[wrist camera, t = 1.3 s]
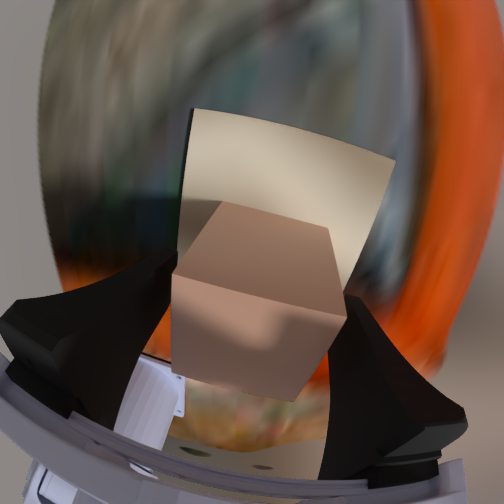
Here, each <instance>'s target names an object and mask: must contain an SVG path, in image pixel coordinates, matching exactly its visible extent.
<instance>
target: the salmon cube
mask: <svg viewBox="0 0 504 504" xmlns="http://www.w3.org/2000/svg"><path fill="white" fill-rule="evenodd" d="M346 319H347V313H346V307H345V302H344V297H343V292H342V287H341V282H340V277H339V272H338V268H337V263H336V259H335V254H334V250H333V246H332V242H331V238H330V234H329V230H328V228H326V227H322V226H319V225H315V224H312V223H308V222H304V221H301V220H297V219H293V218H289V217H285V216H282V215H278V214H274V213H270V212H266V211H262V210H258V209H254V208H250V207H246V206H242V205H238V204H233V203H229V202H225V201H222V203H221V204H220V205H219V207H218V208H217V210H216V211H215V212H214V214H213V215H212V217H211V218H210V219H209V221H208V222H207V224H206V225H205V226H204V228H203V229H202V231H201V232H200V233H199V235H198V236H197V238H196V239H195V241H194V242H193V244H192V245H191V246H190V248H189V249H188V251H187V252H186V254H185V255H184V257H183V258H182V260H181V261H180V263H179V264H178V266H177V267H176V269H175V270H174V272H173V273H172V288H171V373H174V374H178V375H181V376H184V377H187V378H190V379H194V380H197V381H200V382H204V383H208V384H211V385H215V386H219V387H222V388H226V389H230V390H235V391H239V392H243V393H248V394H252V395H257V396H262V397H267V398H272V399H277V400H283V401H289V402H294V400H295V399H296V398H297V396H298V395H299V393H300V392H301V390H302V389H303V388H304V386H305V385H306V383H307V382H308V380H309V379H310V377H311V376H312V374H313V373H314V371H315V370H316V368H317V367H318V365H319V364H320V362H321V360H322V359H323V357H324V356H325V354H326V352H327V351H328V349H329V348H330V346H331V344H332V343H333V341H334V339H335V338H336V336H337V334H338V333H339V331H340V329H341V328H342V326H343V324H344V322H345V321H346Z"/></svg>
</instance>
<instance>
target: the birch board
mask: <svg viewBox="0 0 504 504" xmlns="http://www.w3.org/2000/svg"><path fill="white" fill-rule="evenodd" d="M395 162H396V161H395V160H393V159H390V158H388V157H385V156H383V155H380V154H377V153H375V152H372V151H369V150H367V149H364V148H361V147H358V146H355V145H352V144H349V143H346V142H343V141H340V140H337V139H334V138H331V137H328V136H324V135H321V134H317V133H314V132H310V131H307V130H303V129H299V128H296V127H292V126H288V125H284V124H280V123H275V122H271V121H267V120H262V119H257V118H252V117H247V116H242V115H237V114H231V113H225V112H219V111H213V110H206V109H199V108H195V109H194V115H193V121H192V127H191V133H190V139H189V146H188V152H187V159H186V167H185V175H184V183H183V191H182V200H181V210H180V220H179V231H178V244H177V251H178V263H177V266H178V264H179V263H180V261H181V260H182V258H183V257H184V255H185V254H186V252H187V251H188V249H189V248H190V246H191V245H192V244H193V242H194V241H195V239H196V238H197V236H198V235H199V233H200V232H201V231H202V229H203V228H204V226H205V225H206V224H207V222H208V221H209V219H210V218H211V217H212V215H213V214H214V212H215V211H216V210H217V208H218V207H219V205H220V204H221V203H222V201H225V202H229V203H233V204H238V205H242V206H246V207H250V208H254V209H258V210H262V211H266V212H270V213H274V214H278V215H282V216H285V217H289V218H293V219H297V220H301V221H304V222H308V223H312V224H315V225H319V226H322V227H326V228H328V230H329V234H330V238H331V242H332V246H333V250H334V254H335V259H336V263H337V268H338V272H339V277H340V282H341V287H342V292H343V290H344V288H345V286H346V283H347V281H348V279H349V277H350V275H351V273H352V271H353V268H354V266H355V264H356V262H357V260H358V257H359V255H360V253H361V251H362V248H363V246H364V244H365V241H366V239H367V237H368V234H369V232H370V229H371V227H372V224H373V222H374V219H375V217H376V214H377V212H378V209H379V207H380V204H381V201H382V199H383V196H384V193H385V191H386V188H387V185H388V182H389V179H390V176H391V173H392V171H393V168H394V165H395Z"/></svg>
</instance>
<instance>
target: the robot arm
mask: <svg viewBox="0 0 504 504" xmlns="http://www.w3.org/2000/svg"><path fill="white" fill-rule="evenodd" d="M177 263H178V251H174V250H171V249H167V248H164V249H162V250H160V251H158V252H156V253H154V254H153V255H151V256H149V257H147V258H145V259H144V260H142V261H140V262H138V263H136V264H134V265H133V266H131V267H129V268H127V269H125V270H123V271H120V272H118V273H116V274H114V275H112V276H110V277H108V278H106V279H103V280H101V281H98V282H96V283H93V284H90V285H88V286H85V287H81V288H78V289H74V290H71V291H68V292H64V293H60V294H56V295H50V296H45V297H38V298H29V299H20V300H16V301H15V302H14V303H13V305H12V306H11V307H10V308H9V309H8V310H7V311H6V312H5V313H4V314H3V315H2V316H1V317H0V334H1V336H2V338H3V340H4V341H5V343H6V345H7V347H8V348H9V350H10V352H11V353H12V355H13V356H14V359H13V361H12V362H11V363H10V361H8V359H7V358H6V357H5V356H4V355H3V354H1V353H0V430H1V431H2V432H3V433H4V434H5V435H6V436H7V437H9V438H10V439H11V440H12V441H13V442H14V443H15V444H16V445H17V446H19V447H20V448H21V449H22V450H23V451H25V452H26V453H27V454H28V455H30V456H31V457H32V458H33V459H34V460H33V462H32V464H31V467H30V469H29V471H28V474H27V478H26V480H27V482H26V485H25V487H24V490H23V493H22V495H23V497H24V500H23V503H24V504H270V503H262V502H254V501H249V500H243V499H237V498H230V497H226V496H221V495H216V494H211V493H207V492H203V491H198V490H194V489H190V488H186V487H183V486H179V485H175V484H172V483H168V482H165V481H162V480H158V477H156V476H154V475H152V471H153V470H155V471H158V472H161V473H164V474H167V475H170V476H173V477H176V478H179V479H183V480H186V481H189V482H193V483H197V484H201V485H205V486H209V487H213V488H218V489H223V490H228V491H233V492H239V493H245V494H251V495H259V496H267V497H277V498H290V499H312V500H301V501H300V502H299V503H296V504H468V496H467V487H466V479H465V472H464V465H463V459H462V458H460V459H456V460H452V461H448V462H445V463H442V464H439V465H438V461H437V459H439V458H441V456H442V454H441V449H443V448H444V447H446V446H447V445H449V444H450V443H452V442H453V441H454V440H456V439H458V438H459V437H460V436H461V435H462V434H463V433H464V432H465V431H466V430H467V428H468V423H467V419H466V415H465V411H464V408H463V407H461V406H460V405H458V404H456V403H455V402H453V401H452V400H450V399H449V398H447V397H446V396H445V395H443V394H442V393H441V392H439V391H438V390H437V389H436V388H435V387H433V386H432V385H431V384H430V383H429V382H428V381H426V380H425V379H424V378H423V377H422V376H421V375H420V374H419V373H418V372H417V371H416V370H415V369H414V368H413V367H412V366H411V365H410V364H409V362H408V361H407V360H406V359H405V358H404V357H403V356H402V355H401V353H400V352H399V351H398V350H397V349H396V347H395V346H394V345H393V343H392V342H391V341H390V340H389V338H388V337H387V335H386V334H385V333H384V331H383V330H382V329H381V327H380V326H379V324H378V323H377V321H376V320H375V319H374V317H373V316H372V314H371V313H370V311H369V310H368V309H367V307H366V306H365V304H364V303H363V302H362V300H361V299H360V298H359V297H356V296H352V295H347V294H346V296H345V298H344V302H345V307H346V313H347V319H346V321H345V322H344V324H343V326H342V328H341V329H340V331H339V333H338V334H337V336H336V338H335V339H334V341H333V343H332V344H331V346H330V348H329V349H328V364H329V378H330V412H329V422H328V430H327V438H326V443H325V449H324V455H323V459H322V463H321V468H320V472H319V476H318V480H305V479H290V478H280V477H271V476H263V475H257V474H250V473H244V472H239V471H234V470H229V469H223V468H219V467H215V466H211V465H206V464H203V463H199V462H195V461H192V460H188V459H185V458H182V457H178V456H175V455H172V454H169V453H166V452H163V451H161V450H162V447H163V444H164V441H165V438H166V435H167V433H168V430H169V427H170V424H171V422H172V419H173V416H174V415H176V416H179V417H183V416H184V412H185V378H186V377H184V376H181V375H178V374H174V373H171V364H168V363H165V362H162V361H159V360H156V359H154V358H151V357H148V356H145V355H143V354H141V353H142V351H143V349H144V347H145V345H146V343H147V342H148V340H149V338H150V337H151V335H152V333H153V332H154V330H155V328H156V327H157V325H158V324H159V322H160V320H161V319H162V317H163V315H164V314H165V312H166V310H167V309H168V307H169V304H170V302H171V288H172V273H173V272H174V270H175V269H176V267H177Z"/></svg>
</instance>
